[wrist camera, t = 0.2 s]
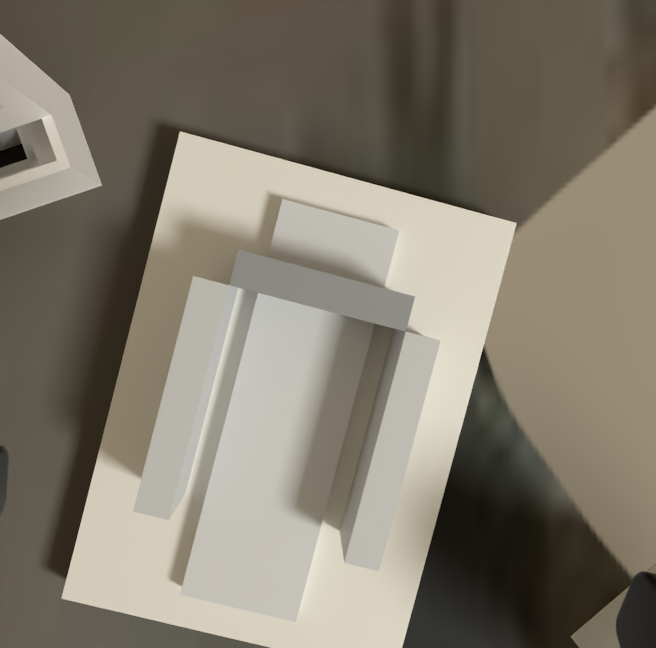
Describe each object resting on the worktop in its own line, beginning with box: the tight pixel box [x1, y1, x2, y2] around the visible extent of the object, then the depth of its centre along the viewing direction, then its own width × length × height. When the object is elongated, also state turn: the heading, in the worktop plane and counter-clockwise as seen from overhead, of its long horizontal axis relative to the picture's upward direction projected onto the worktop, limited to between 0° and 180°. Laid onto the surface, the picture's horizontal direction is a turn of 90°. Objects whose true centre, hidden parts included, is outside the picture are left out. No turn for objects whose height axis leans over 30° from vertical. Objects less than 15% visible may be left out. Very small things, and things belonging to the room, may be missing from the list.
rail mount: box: [62, 131, 517, 648], centre depth 22 cm, size 18×13×4 cm
